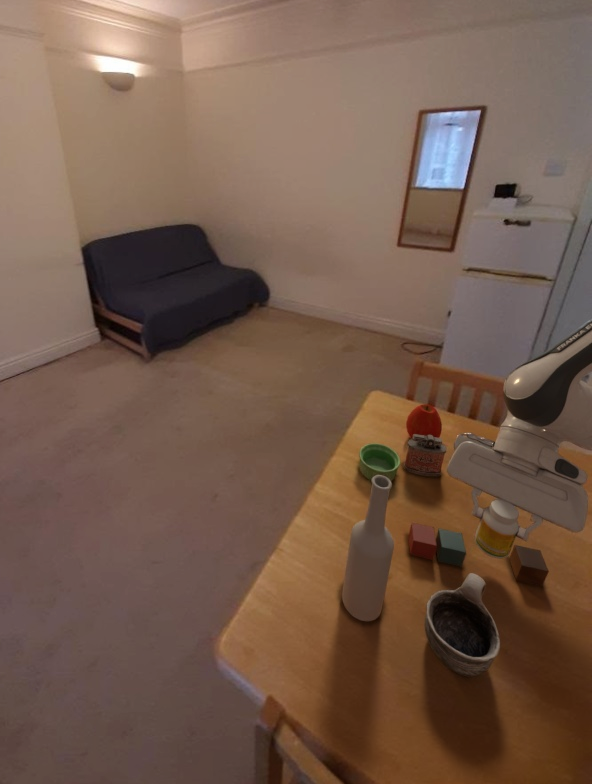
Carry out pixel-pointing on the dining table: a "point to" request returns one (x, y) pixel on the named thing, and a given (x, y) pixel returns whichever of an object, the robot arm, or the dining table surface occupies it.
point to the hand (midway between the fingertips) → (498, 527)
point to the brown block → (528, 565)
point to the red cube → (422, 541)
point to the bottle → (369, 557)
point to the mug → (462, 628)
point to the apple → (424, 421)
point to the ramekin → (378, 461)
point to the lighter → (425, 455)
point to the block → (450, 547)
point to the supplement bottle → (497, 528)
